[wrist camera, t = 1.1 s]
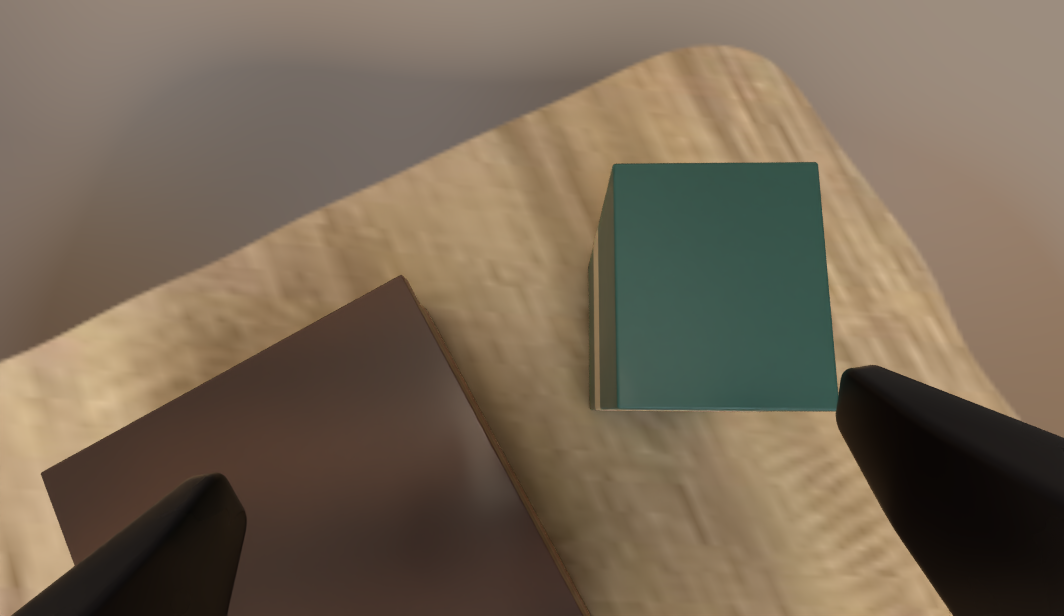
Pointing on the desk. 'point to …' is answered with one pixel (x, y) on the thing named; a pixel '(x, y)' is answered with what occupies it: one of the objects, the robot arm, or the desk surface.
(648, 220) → the tea packet
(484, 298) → the desk surface
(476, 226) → the desk surface
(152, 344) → the desk surface
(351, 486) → the walnut box
